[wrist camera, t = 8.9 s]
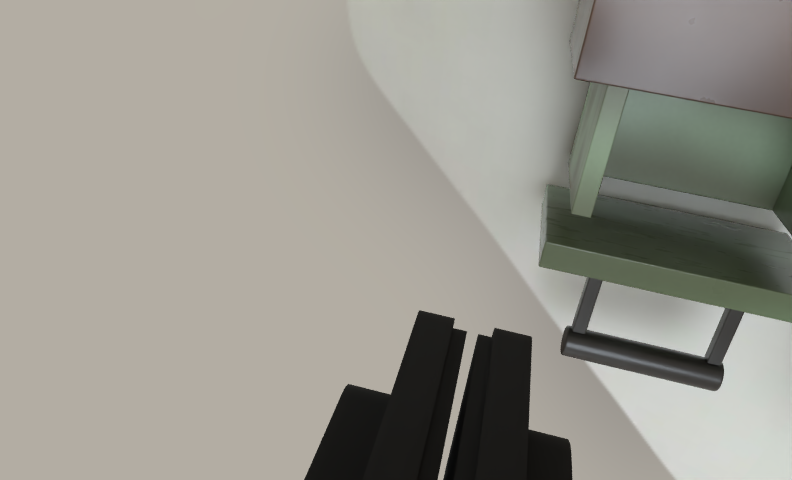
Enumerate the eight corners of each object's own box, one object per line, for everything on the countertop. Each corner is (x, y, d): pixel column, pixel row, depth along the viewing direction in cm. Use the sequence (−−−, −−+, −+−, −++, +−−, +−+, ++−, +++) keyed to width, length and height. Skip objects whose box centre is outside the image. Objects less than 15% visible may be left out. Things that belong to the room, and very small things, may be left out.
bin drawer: (737, 342, 34) (776, 431, 28) (518, 292, 36) (511, 366, 30) (915, -47, 26) (1024, -40, 20) (618, -92, 27) (636, -96, 21)
